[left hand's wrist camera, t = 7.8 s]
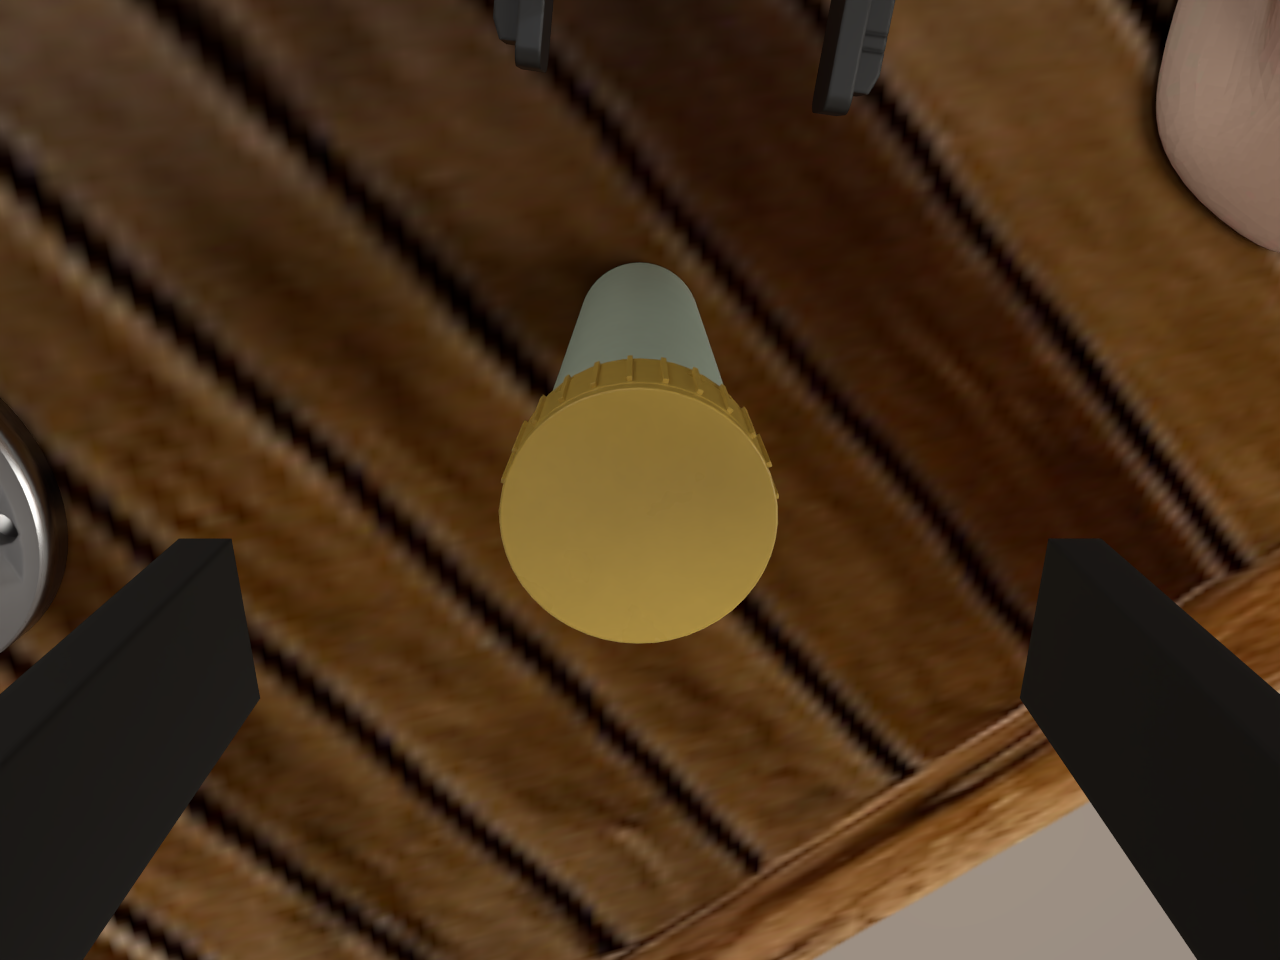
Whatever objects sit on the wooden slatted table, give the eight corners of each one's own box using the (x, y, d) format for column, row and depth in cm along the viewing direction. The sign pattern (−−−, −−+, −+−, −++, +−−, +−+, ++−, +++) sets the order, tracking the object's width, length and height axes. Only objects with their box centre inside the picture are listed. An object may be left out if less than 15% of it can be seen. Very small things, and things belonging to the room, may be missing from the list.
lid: (552, 615, 20) (541, 673, 18) (478, 390, 18) (455, 424, 16) (788, 561, 19) (806, 614, 17) (735, 324, 17) (748, 350, 15)
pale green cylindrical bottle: (598, 392, 35) (557, 641, 18) (566, 279, 34) (486, 431, 16) (710, 364, 35) (780, 590, 17) (683, 248, 33) (730, 370, 16)
